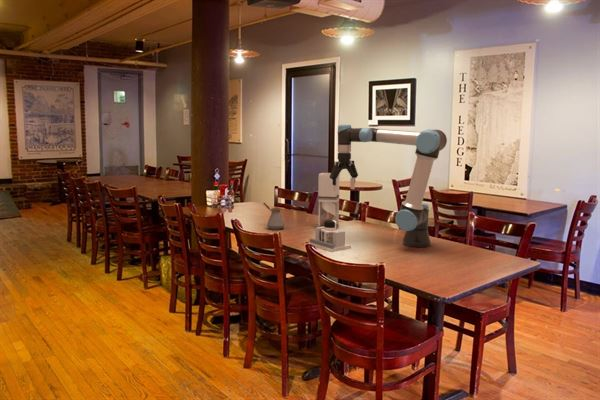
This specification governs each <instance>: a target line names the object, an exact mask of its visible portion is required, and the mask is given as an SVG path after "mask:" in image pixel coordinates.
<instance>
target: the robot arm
mask: <svg viewBox="0 0 600 400" xmlns="http://www.w3.org/2000/svg"><path fill="white" fill-rule="evenodd" d="M353 142H354V143H370V142H372V143H373V142H374V143H383V144H384V143H386V144H397V145H404V146H405V145H406V146H414V147H415V146H416V149H415V152H414V153H415V155H416V160H415V163H414V167H413V172H412V175H411V179H410V183H409V186H408V190H407V194H406V197H405V200H404V201H402V202H401V205H400V207H399V208H400V209H399V210H398V212H397V213H396V214H395V217H394V219H395V220H394V221H395V224H396V226H397V227H398V228H399V229H400V230H402V231H405V233H404V236H403V238H402V244H403V246H407V247H413V248H426V247H427V248H428V247H431V243H432V242H431V239H430V235H429V230H428V229H429V216H430V214H429V212H430V210H429V208H430V207H429V205H428V204H425V203H423V201H424V197H425V195H426V194H425V193H426V190H427V186H428V182H429V180H430V179H429V178H430V175H431V173H432V170H433V169H432V168H433V165H434V161H436V160H438V159H439V155H440V151H442V150H444V148H445V147H446V146H447V142H448V139H447V135H446V134H445V132H443V131H442V130H440V129H431V128H429V129H425V130H423V131H415V130H414V131H413V130H400V129H387V128H375V127H358V128H357V127H355V128H354V127H352V125H351V124H339V125H338V126H337V160H338V161H334V162H333V166H332V168H331V169H332V170H331V172H330V173H331V174H330V178H331V179H332V180H333V191H337V189H338V179H337V177H338V175H339V174H341V172H342V170H347V172H348V174H349V175H350V187H349V188H350V190H355V188H356V187H355V185H356V178H358V177H359V173H358V170H357V167H356V166H355V160H351V159H352V153H351V152H352V143H353Z"/></svg>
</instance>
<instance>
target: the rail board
mask: <svg viewBox="0 0 600 400" xmlns="http://www.w3.org/2000/svg"><path fill="white" fill-rule="evenodd" d="M321 229H324V226H323V227H318V226H317V227H315V238H313V237H312V238H309V241H308V244H309V243H310V244H312V245H314V246H315V247H314V246H313V247H314V248H317V249H319V250H320V249H322V250H324V251H328V252H330V253H333V252H338V251H343V250H348V249H349V250H350V249H352V245H351V244H347V243H346V231H345V230H338V231H336V232H333V244H330V243H326V242H323V241H321Z"/></svg>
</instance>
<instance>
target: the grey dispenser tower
mask: <svg viewBox="0 0 600 400" xmlns="http://www.w3.org/2000/svg"><path fill="white" fill-rule="evenodd" d="M330 174H331V172H321V173H319V174H318V190H317V191H318V193H317V195H318V196H317V197H318V198H317V200H318V218H317V219H318V224H317V227H323V226H324V222H325V221H326V220H335V221H336V230H338V229H339V228H340V227H339V226H340V224H339V221H340V220H339V219H340V174H341V173H340V174H339V175H338V177H337V179H338V189H337V191H333V180H332V179H331V178H330Z"/></svg>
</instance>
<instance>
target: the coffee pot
mask: <svg viewBox="0 0 600 400" xmlns="http://www.w3.org/2000/svg"><path fill="white" fill-rule="evenodd" d="M261 205H263V206H265V207H266V208H267V210H268V211H270V212H271V213H270V216H269V219H268V221H267V223H266V226H267V227H268V228H269V230H271V231H279V230H280V231H281V230H283V228H284V227H285V225H286V224H285V221H284V219H283V216H282V214H281V210H282V209H281V208H279V207H278V208H277V207H275V208H271V207H269V205H267V203H266V202H263V203H262V204H261Z"/></svg>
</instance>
